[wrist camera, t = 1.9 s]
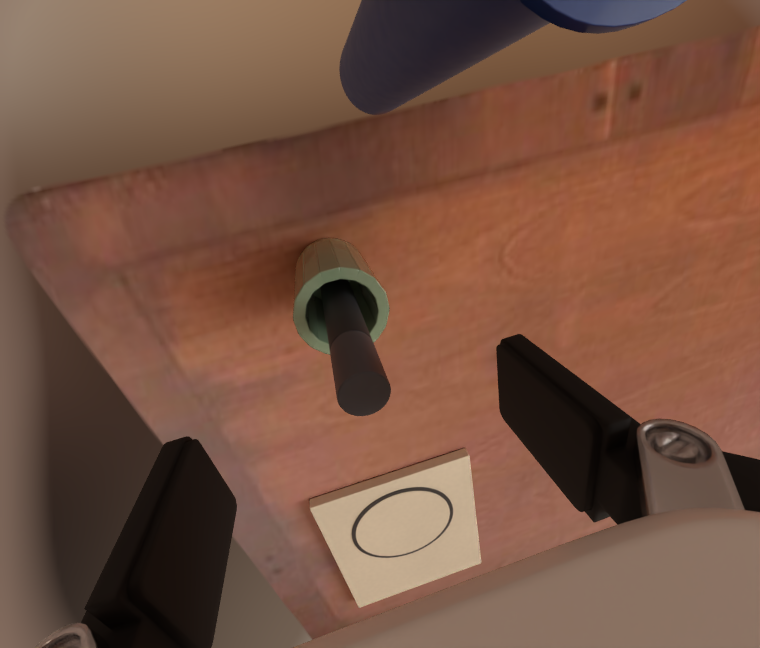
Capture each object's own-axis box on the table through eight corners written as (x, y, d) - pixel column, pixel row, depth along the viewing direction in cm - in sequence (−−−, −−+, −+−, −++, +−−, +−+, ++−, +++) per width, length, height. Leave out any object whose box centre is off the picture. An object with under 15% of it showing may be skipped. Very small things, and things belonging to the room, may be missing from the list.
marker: (315, 266, 22) (330, 381, 10) (341, 259, 22) (385, 365, 11) (322, 291, 23) (345, 423, 11) (348, 284, 23) (395, 407, 12)
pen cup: (285, 248, 22) (279, 283, 15) (356, 229, 22) (378, 256, 16) (307, 313, 24) (310, 366, 18) (372, 295, 24) (396, 340, 18)
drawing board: (309, 499, 32) (309, 510, 31) (465, 447, 34) (470, 456, 32) (357, 598, 41) (359, 609, 40) (477, 554, 43) (482, 564, 42)
